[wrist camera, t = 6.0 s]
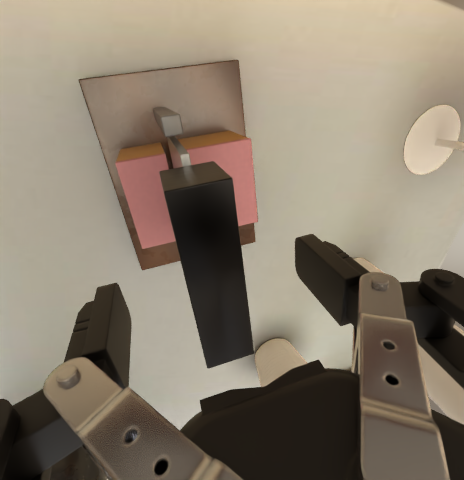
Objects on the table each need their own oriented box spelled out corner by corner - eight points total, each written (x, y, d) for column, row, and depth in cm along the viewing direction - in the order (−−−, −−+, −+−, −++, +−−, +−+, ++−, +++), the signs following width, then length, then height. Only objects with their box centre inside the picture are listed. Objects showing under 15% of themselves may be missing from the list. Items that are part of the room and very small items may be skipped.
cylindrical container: (344, 252, 40) (584, 439, 18) (379, 263, 42) (622, 434, 21) (320, 294, 42) (507, 503, 20) (354, 301, 45) (550, 491, 23)
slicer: (141, 263, 32) (142, 354, 21) (81, 80, 23) (26, 66, 12) (251, 236, 34) (304, 304, 23) (233, 61, 26) (305, 35, 14)
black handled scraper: (181, 262, 23) (209, 376, 14) (150, 135, 19) (159, 177, 9) (210, 255, 24) (255, 360, 14) (186, 129, 19) (231, 163, 10)
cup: (236, 377, 45) (262, 452, 36) (249, 329, 41) (281, 398, 32) (291, 370, 48) (328, 437, 39) (308, 325, 44) (353, 387, 35)
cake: (142, 221, 28) (142, 249, 23) (120, 149, 25) (114, 163, 20) (238, 200, 30) (258, 221, 25) (229, 130, 27) (251, 138, 22)
